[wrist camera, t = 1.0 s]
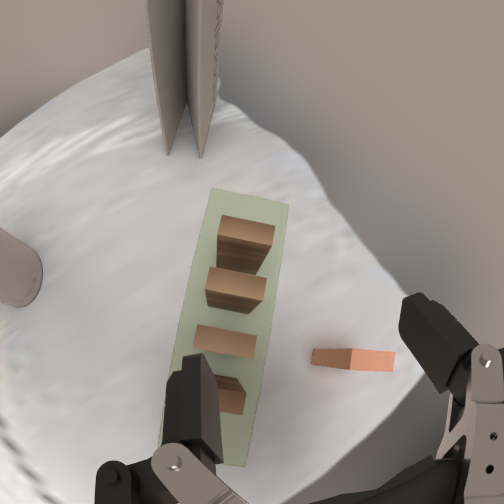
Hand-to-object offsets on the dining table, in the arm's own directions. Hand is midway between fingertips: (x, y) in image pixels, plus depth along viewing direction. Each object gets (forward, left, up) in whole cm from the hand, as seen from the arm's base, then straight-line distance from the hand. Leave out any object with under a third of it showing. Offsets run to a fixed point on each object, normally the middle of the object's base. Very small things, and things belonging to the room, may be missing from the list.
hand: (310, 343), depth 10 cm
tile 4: (-4, +3, -24) cm, 25 cm away
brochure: (-24, +25, -25) cm, 43 cm away
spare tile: (+11, +4, -25) cm, 27 cm away
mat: (-3, +1, -25) cm, 25 cm away
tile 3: (-2, -1, -24) cm, 24 cm away
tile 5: (-6, +8, -24) cm, 26 cm away
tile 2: (-1, -6, -24) cm, 25 cm away
